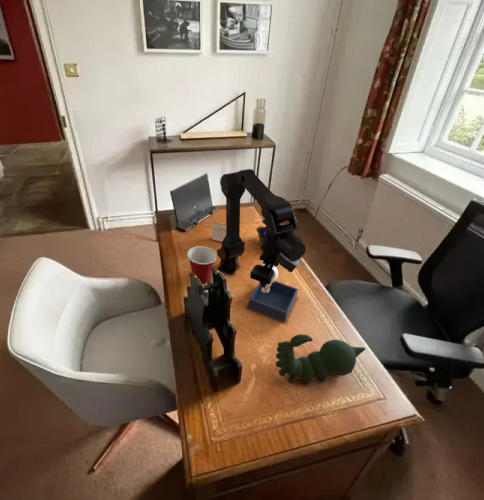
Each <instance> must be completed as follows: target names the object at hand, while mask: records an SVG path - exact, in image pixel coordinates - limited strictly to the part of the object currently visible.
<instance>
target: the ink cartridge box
mask: <svg viewBox="0 0 484 500" xmlns="http://www.w3.org/2000/svg"><path fill="white" fill-rule="evenodd" d="M225 236H226V223H222V222H217V221H212V231H211V240H213V241H216V242H221V243H222V241H223V239H224V238H225Z"/></svg>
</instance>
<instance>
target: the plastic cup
mask: <svg viewBox="0 0 484 500" xmlns="http://www.w3.org/2000/svg"><path fill="white" fill-rule="evenodd" d="M186 255H187V258H188V261H189V265H190V270H191V274H192V273H194V274H195V275H196V276H197V277H198V278H199V279H200V281H201V283H202V285H204V284H206V283H208V282H209V280H210V277H211V274H212V270H213V266H214V263H215V261H217V258H218V255H217V251H215V250H214V249H213V248H211V247H208V246H203V245H202V246H201V245H197V246H193V247H191V248H189V249H188V251H187V254H186Z"/></svg>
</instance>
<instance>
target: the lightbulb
mask: <svg viewBox="0 0 484 500" xmlns="http://www.w3.org/2000/svg"><path fill="white" fill-rule="evenodd" d="M264 265H265V264H262V266H264ZM272 269H273V271H274V272H275V273H274V274H275V276H274V277H273V279H272V281H271V283H270V284H266V286H265V288H263V287H262V288H261V291H262V292H264V293H268V292H269V290H270V286H271V285H272V283H273V282H275V281H277V280H278V277H279V270H278V268H277V266H276V267H275V266H273V268H272Z"/></svg>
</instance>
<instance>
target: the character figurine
mask: <svg viewBox="0 0 484 500" xmlns="http://www.w3.org/2000/svg"><path fill="white" fill-rule="evenodd" d="M265 230H266V226H258V227H256V232H257V234H258V238H259V242H260V243H261V245H262V244H263V243H264V237H265Z"/></svg>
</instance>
